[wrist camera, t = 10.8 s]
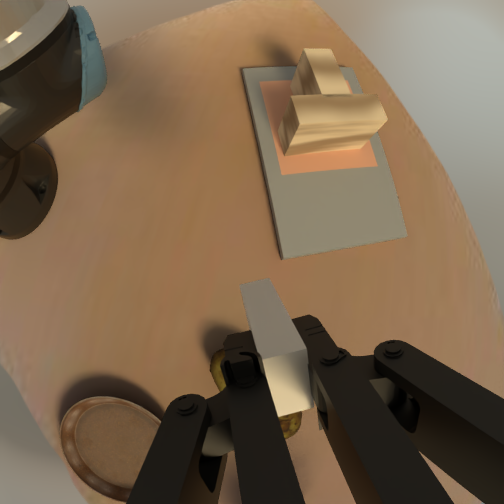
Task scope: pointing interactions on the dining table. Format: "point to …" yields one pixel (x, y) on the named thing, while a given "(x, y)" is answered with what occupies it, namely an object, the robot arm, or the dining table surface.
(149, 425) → the plant saucer
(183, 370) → the dining table surface
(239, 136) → the dining table surface
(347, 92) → the t block
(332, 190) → the board
